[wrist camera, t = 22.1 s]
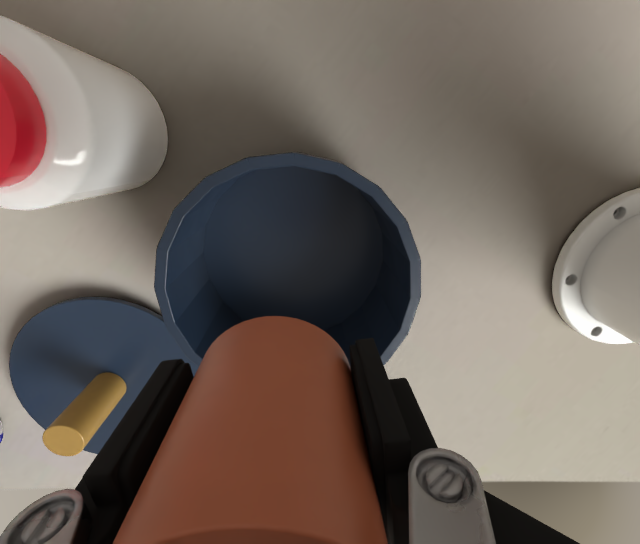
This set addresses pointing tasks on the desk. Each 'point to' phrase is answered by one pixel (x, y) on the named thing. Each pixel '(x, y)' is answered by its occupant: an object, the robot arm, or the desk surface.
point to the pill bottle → (71, 123)
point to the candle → (262, 448)
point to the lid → (87, 367)
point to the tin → (288, 255)
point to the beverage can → (1, 431)
